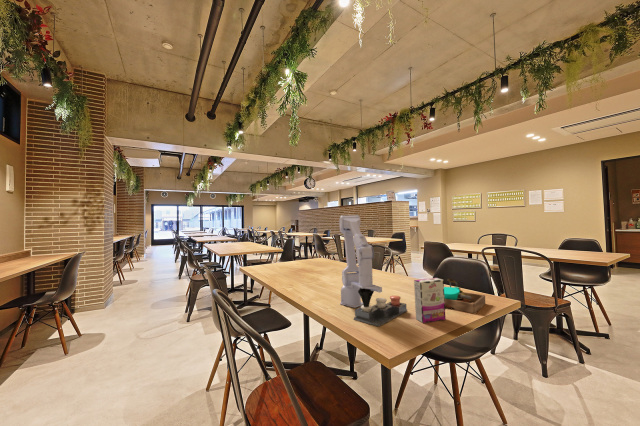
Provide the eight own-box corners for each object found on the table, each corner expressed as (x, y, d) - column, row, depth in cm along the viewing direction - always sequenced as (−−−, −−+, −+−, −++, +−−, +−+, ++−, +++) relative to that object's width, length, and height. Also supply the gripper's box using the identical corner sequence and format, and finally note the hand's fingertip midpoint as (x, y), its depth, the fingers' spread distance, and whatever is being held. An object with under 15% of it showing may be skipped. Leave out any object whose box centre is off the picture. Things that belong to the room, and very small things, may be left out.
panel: (352, 319, 114) (352, 310, 114) (382, 305, 131) (382, 297, 131) (380, 327, 105) (379, 317, 105) (408, 311, 122) (407, 303, 122)
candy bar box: (437, 316, 115) (436, 277, 116) (446, 320, 111) (444, 279, 111) (414, 319, 112) (413, 279, 113) (422, 323, 108) (421, 282, 108)
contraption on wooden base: (478, 303, 130) (477, 272, 131) (460, 311, 120) (458, 277, 120) (449, 297, 142) (448, 268, 142) (430, 304, 131) (429, 272, 132)
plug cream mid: (373, 308, 118) (373, 299, 118) (379, 305, 121) (379, 297, 121) (383, 310, 115) (383, 301, 115) (388, 307, 118) (388, 299, 118)
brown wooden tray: (424, 303, 132) (424, 295, 132) (438, 295, 145) (438, 288, 145) (475, 313, 117) (474, 304, 117) (485, 303, 130) (485, 295, 130)
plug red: (388, 305, 121) (387, 297, 121) (393, 303, 124) (392, 294, 124) (397, 307, 118) (397, 299, 118) (402, 305, 121) (402, 296, 121)
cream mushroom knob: (359, 315, 115) (358, 306, 115) (365, 312, 118) (364, 304, 118) (368, 318, 112) (367, 309, 112) (374, 315, 115) (374, 306, 115)
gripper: (346, 273, 117) (347, 305, 117) (375, 278, 108) (376, 312, 107) (355, 271, 123) (356, 301, 122) (384, 275, 113) (385, 308, 112)
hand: (366, 306), depth 115 cm, fingers closed, pressing on cream mushroom knob
